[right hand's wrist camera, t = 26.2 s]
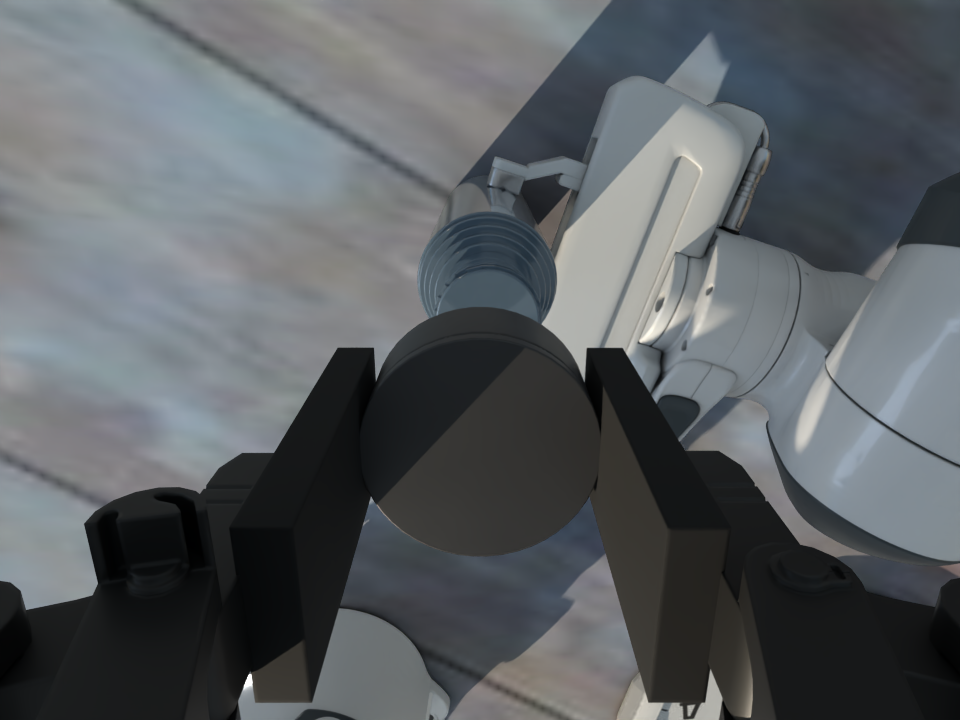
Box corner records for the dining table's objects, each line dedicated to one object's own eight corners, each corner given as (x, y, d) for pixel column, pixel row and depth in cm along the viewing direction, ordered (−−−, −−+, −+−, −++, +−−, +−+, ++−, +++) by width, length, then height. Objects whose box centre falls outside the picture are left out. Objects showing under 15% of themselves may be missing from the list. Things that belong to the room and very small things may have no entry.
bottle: (538, 250, 44) (590, 377, 22) (456, 271, 44) (429, 417, 23) (517, 164, 42) (553, 213, 21) (432, 188, 43) (379, 259, 21)
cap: (585, 298, 14) (602, 330, 12) (587, 493, 15) (603, 550, 13) (362, 312, 14) (342, 346, 12) (386, 504, 15) (372, 563, 13)
